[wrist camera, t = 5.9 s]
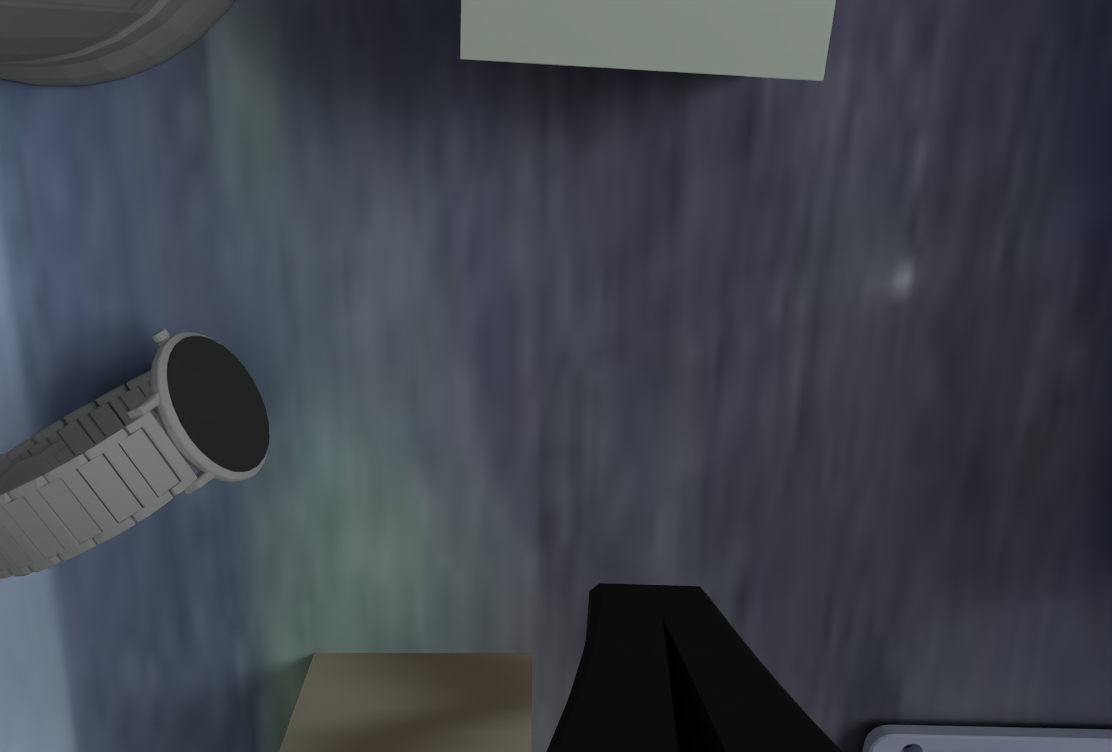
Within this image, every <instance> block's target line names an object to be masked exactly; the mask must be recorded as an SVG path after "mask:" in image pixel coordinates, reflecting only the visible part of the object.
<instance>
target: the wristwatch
mask: <svg viewBox="0 0 1112 752" xmlns="http://www.w3.org/2000/svg"><path fill="white" fill-rule="evenodd" d="M169 336H170V335H169V333H168V332H167V330H166V329H163V330H160V331H159V332H157V333H155V334H153V335H152V336H151V337H152V339H153V340H154V342H155V343H158V346H159V349H158V351H157V353H156V355H155V357H154V360H153V362H152V368H151V370H149V371H147V372H145V373H143V374H141V375H139V376H137V377H135V378H134V379H132V380H130V381H128V382H127V383H126V384H127V386H128V387H129V389H128V388H127V386H126V385H125V384H122V385H120V386H118V387H117V388H115V389H113V390H111V391H109V392H107V393H105V394H104V395H102V396H100V397H99V398H97V399H96V400H95V401H96V402H97V403H98V405H99V406H98V407H97V405H96V404H95V403H94V401H92V402H90V403H88V404H86V405H84V406H82V407H81V408H79V409H77V410H75V411H73V412H72V413H70V414H68V415H66V416H65V417H64V418H63V419H64V420H65V421H66V422H67V425H65V424H64V423H63V422H62V420H61V419H60V420H58V421H56V422H54V423H53V424H51V425H49V426H48V427H46V428H45V429H43V430H41V431H40V432H38V433H36V434H35V435H33V436H32V437H31V439H32V440H31V439H28V440H26V441H24V442H22V443H21V444H19V445H18V446H16V447H15V448H14V449H12V450H11V451H9V452H8V453H6V454H1V455H0V579H1V578H7V577H10V576H12V575H14V576H25V575H28V574H30V573H32V572H39V571H41V570H44V569H47V568H49V567H52V566H55V565H57V564H58V563H60V562H61V561H62V560H63V561H66V560H69V559H71V558H73V557H75V556H77V555H79V554H82V553H84V552H86V551H88V550H90V549H92V548H93V547H95V546H96V545H97V544H101V543H104V542H106V541H108V540H109V539H111V538H113V537H115V536H116V535H118V534H120V533H122V532H124V531H125V530H127V529H129V528H131V527H132V526H133V525H135V521H134V520H133V518H132V517H131V515H132V516H133V517H134V518H135V519H136V520H137V522H139V521H141V520H143V519H145V518H146V517H148V516H149V515H151V514H152V513H154V512H155V511H156V510H158V509H159V508H161V507H162V506H164V505H165V504H167V503H168V502H169V501H170V500H172V499H173V497H172V496H175V495H178V494H179V493H180V492H182V491H184V492H185V493H186V495H187V494H189V493H191V492H193V491H196V490H198V489H200V488H201V487H202V486H204V485H205V484H206V483H208V482H209V481H210V480H212V479H213V478H214V479H217V480H220V481H228V482H237V481H242V480H246V479H248V478H250V477H252V476H253V475H255V474H256V473H257V472H258V471H259V470H260V469H261V467H262V466H263V464H264V462H265V460H266V457H267V452H268V448H269V422H268V418H267V413H266V409H265V406H264V403H263V400H262V397H261V395H260V393H259V391H258V389H257V387H256V385H255V383H254V381H253V379H252V378H251V376H250V375H249V373H248V372H247V370H246V369H245V367H244V366H243V365H242V364H241V362H240V361H239V360H238V359H237V358H236V357H235V356H234V355H233V354H232V353H231V352H230V351H228V350H227V349H226V348H225V347H224V346H223V345H221V344H220V343H219V341H217V340H213V339H211V338H209V337H207V336H205V335H202V334H199V333H193V332H184V333H179V334H176V335H174V336H173V337H171V338H170V337H169ZM109 403H110V404H111V405H110V404H109ZM112 407H113V408H114V409H113V408H112ZM114 410H115V411H116V412H117V413H116V412H115V411H114ZM117 414H118V415H119V416H118V415H117ZM120 418H121V419H122V420H121V419H120ZM77 420H78V421H79V423H80V424H81V425H82V426H83V428H84V429H85V430H86V432H87V433H88V434H89V436H90V437H91V438H92V440H93V441H94V442H95V444H94V443H93V441H92V440H91V439H90V437H89V436H88V435H87V433H86V432H85V431H84V429H83V428H82V427H81V425H80V424H79V423H78V421H77ZM122 421H123V422H124V423H125V424H124V423H123V422H122ZM97 424H98V425H97ZM57 431H58V432H59V434H60V435H61V436H62V438H63V439H64V440H65V442H66V443H67V444H68V445H69V447H70V448H71V449H72V451H73V452H74V453H75V455H76V456H75V455H74V454H73V452H72V451H71V450H70V448H69V447H68V446H67V445H66V443H65V442H64V441H63V439H62V438H61V437H60V435H59V434H58V433H57ZM33 442H34V443H35V444H34V443H33ZM182 456H183V457H184V458H185V459H186V460H187V461H188V462H189V463H190V464H191V465H192V466H194V467H195V468H196V469H197V470H199V472H198V473H197V474H196V475H195V474H194V472H193V471H192V469H191V468H190V467H189V465H188V464H187V462H186V461H185V460H184V458H183V457H182ZM170 493H171V494H170Z"/></svg>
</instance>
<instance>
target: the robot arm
mask: <svg viewBox="0 0 1112 752" xmlns="http://www.w3.org/2000/svg"><path fill="white" fill-rule="evenodd" d="M909 744H913V745H912V746H910V747H909V748H904V747H905V746H907V745H909ZM547 752H842V751H841V750H840V749H839V748H838V747H837V746H836V745H835V744H834V743H833V742H832V741H831V740H830V739H829V738H828V737H827V736H826V735H825V733H824V732H823V731H822V730H821V729H820V728H819V727H818V726H817V725H816V724H815V723H814V722H813V721H812V720H811V718H810V717H809V716H808V715H807V714H806V713H805V712H804V711H803V710H802V709H801V708H800V706H799V705H798V704H797V703H796V702H795V701H794V700H793V698H792V697H791V696H790V695H789V694H788V693H787V692H786V691H785V689H784V688H783V687H782V686H781V685H780V684H779V683H778V681H777V680H776V679H775V678H774V677H773V676H772V675H771V673H770V672H769V671H768V670H767V669H766V668H765V666H764V665H763V664H762V663H761V662H760V660H759V659H758V658H757V657H756V656H755V654H754V653H753V652H752V651H751V649H750V648H749V647H748V646H747V645H746V643H745V642H744V641H743V640H742V638H741V637H740V636H739V635H738V633H737V632H736V631H735V630H734V628H733V627H732V626H731V625H730V623H729V622H728V621H727V619H726V618H725V617H724V616H723V614H722V613H721V612H720V611H719V609H718V608H717V607H716V605H715V604H714V603H713V602H712V600H711V599H710V598H709V597H708V595H707V594H706V593H705V592H704V591H703V590H702V589H701V587H700V586H668V585H635V584H602V583H599V584H598V585H597V586H596V587H594V588H593V589H592V590H590V591H589V604H588V618H587V632H586V642H585V646H584V651H583V655H582V658H581V661H580V664H579V667H578V670H577V674H576V677H575V680H574V683H573V686H572V689H571V693H570V695H569V698H568V701H567V704H566V706H565V709H564V711H563V713H562V716H561V718H560V721H559V723H558V725H557V728H556V730H555V733H554V735H553V737H552V740H551V742H550V745H549V747H548V749H547ZM862 752H1112V730H1108V729H1063V728H1018V727H972V726H927V725H882V726H879V727H877V728H875V729H873V730H872V731H871V732H870V733H869V734H868V735H867V737H866V739H865V742H864V746H863V751H862Z"/></svg>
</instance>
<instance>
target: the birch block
mask: <svg viewBox="0 0 1112 752" xmlns="http://www.w3.org/2000/svg"><path fill="white" fill-rule="evenodd" d="M531 706H532V653H314V656H313V658H312V661H311V664H310V667H309V669H308V672H307V675H306V678H305V680H304V683H303V686H302V689H301V692H300V694H299V697H298V700H297V703H296V705H295V708H294V711H293V714H292V716H291V719H290V722H289V725H288V727H287V730H286V733H285V736H284V739H283V741H282V744H281V747H280V750H279V752H531Z"/></svg>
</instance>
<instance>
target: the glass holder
mask: <svg viewBox="0 0 1112 752" xmlns="http://www.w3.org/2000/svg"><path fill="white" fill-rule="evenodd" d="M234 1H235V0H0V78H1V79H7V80H12V81H18V82H23V83H29V84H34V85H45V86H85V85H90V84H96V83H101V82H106V81H112V80H117V79H123V78H127V77H129V76H132V75H134V74H137V73H139V72H142V71H144V70H147V69H149V68H152V67H154V66H157V65H159V64H162V63H164V62H165V61H167V60H168V59H170V58H171V57H173V56H175V55H176V54H178V53H179V52H181V51H182V50H184V49H185V48H187V47H188V46H190V45H191V44H193V43H194V42H196V41H197V40H199V39H200V38H201V37H202V36H203V35H204V34H205V33H206V32H207V31H208V30H209V29H210V28H211V27H212V26H213V25H214V24H215V23H216V22H217V21H218V20H219V19H220V18H221V17H222V16H223V15H224V14H225V13H226V12H227V11H228V10H229V8H230V7H231V5H232V4H233V2H234Z"/></svg>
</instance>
